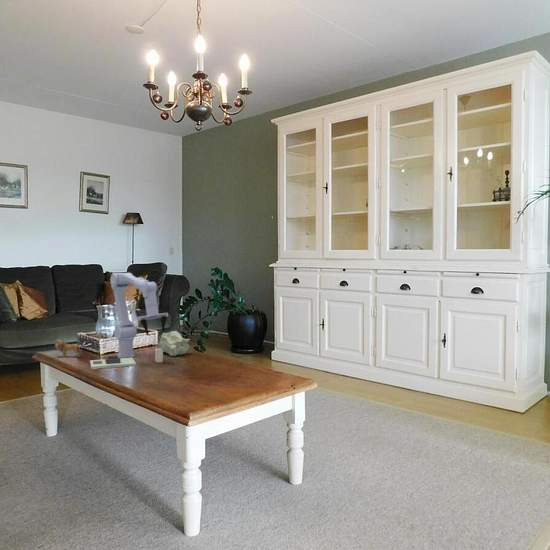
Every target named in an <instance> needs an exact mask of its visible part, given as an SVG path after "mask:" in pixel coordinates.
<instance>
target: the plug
mask: <svg viewBox="0 0 550 550" xmlns="http://www.w3.org/2000/svg"><path fill="white" fill-rule="evenodd" d="M154 361H155V362H156V363H157V362H158V363H163V362H164V353H163V350H162V349H161V348H155V349H154Z"/></svg>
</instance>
